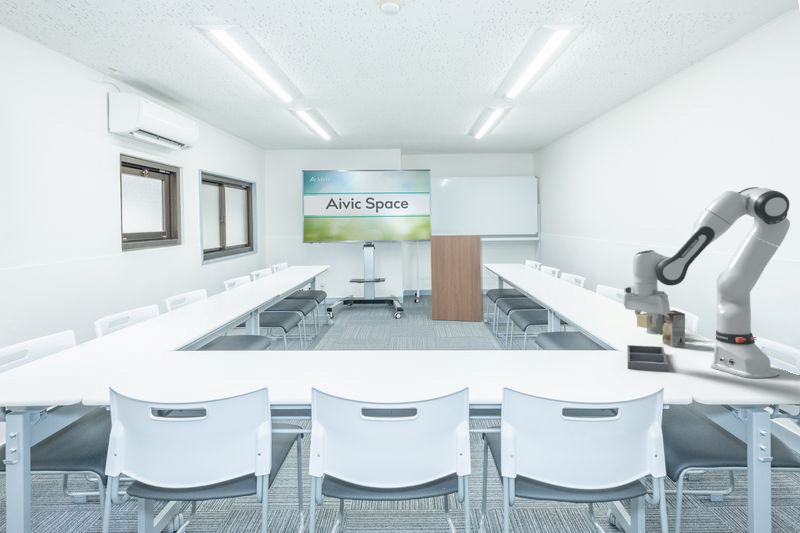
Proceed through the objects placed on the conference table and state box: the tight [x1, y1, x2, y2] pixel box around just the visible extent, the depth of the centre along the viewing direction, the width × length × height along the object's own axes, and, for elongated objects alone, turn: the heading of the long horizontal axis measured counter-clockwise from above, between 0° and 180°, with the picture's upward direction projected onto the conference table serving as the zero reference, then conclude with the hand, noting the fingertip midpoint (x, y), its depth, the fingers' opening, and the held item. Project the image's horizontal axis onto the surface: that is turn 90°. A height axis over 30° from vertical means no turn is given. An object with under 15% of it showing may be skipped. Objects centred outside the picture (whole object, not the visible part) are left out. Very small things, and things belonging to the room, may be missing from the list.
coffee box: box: [662, 310, 686, 348], centre depth 225 cm, size 9×6×16 cm
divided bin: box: [626, 344, 669, 372], centre depth 203 cm, size 28×15×3 cm, turn 154°
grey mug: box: [645, 312, 663, 335], centre depth 253 cm, size 9×14×15 cm, turn 115°
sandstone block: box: [636, 312, 656, 329], centre depth 195 cm, size 5×5×5 cm
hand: (646, 322), depth 195 cm, fingers closed on sandstone block, 5 cm apart
